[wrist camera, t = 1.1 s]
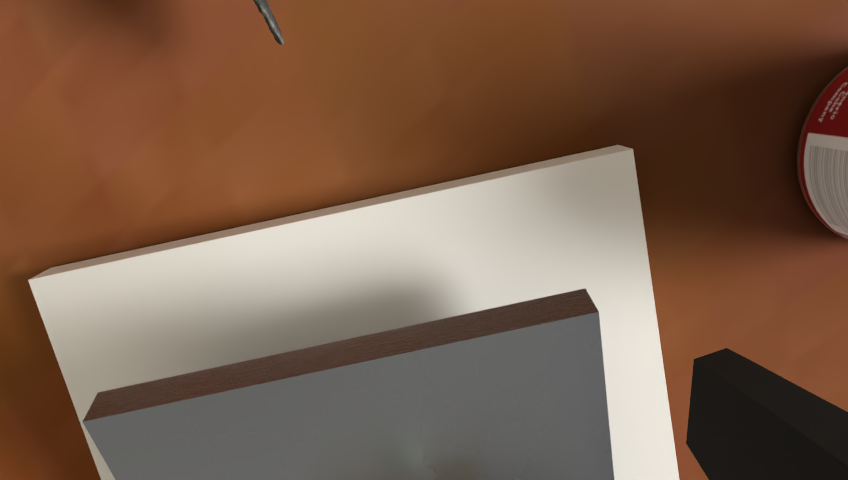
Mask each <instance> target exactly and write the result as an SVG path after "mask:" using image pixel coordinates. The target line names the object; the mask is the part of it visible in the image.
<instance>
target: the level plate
mask: <svg viewBox="0 0 848 480" xmlns="http://www.w3.org/2000/svg"><path fill="white" fill-rule="evenodd" d="M82 422H83V424H84V426H85V427H86V429H87V431H88V433H89V434H90V436H91V438H92V440H93V441H94V443H95V445H96V447H97V448H98V450H99V452H100V454H101V455H102V457H103V459H104V461H105V462H106V464H107V466H108V468H109V469H110V471H111V473H112V475H113V476H114V478H115V480H614V471H613V460H612V449H611V438H610V427H609V416H608V405H607V395H606V384H605V373H604V362H603V351H602V340H601V329H600V319H599V311H598V309H597V308H596V306H595V304H594V302H593V301H592V299H591V297H590V295H589V294H588V292H587V290H586V289H580V290H575V291H571V292H566V293H561V294H557V295H552V296H547V297H542V298H538V299H533V300H528V301H524V302H519V303H514V304H510V305H505V306H500V307H496V308H491V309H486V310H482V311H477V312H472V313H468V314H463V315H458V316H453V317H449V318H444V319H439V320H435V321H430V322H425V323H421V324H416V325H411V326H407V327H402V328H397V329H393V330H388V331H383V332H379V333H374V334H369V335H364V336H360V337H355V338H350V339H346V340H341V341H336V342H332V343H327V344H322V345H318V346H313V347H308V348H304V349H299V350H294V351H290V352H285V353H280V354H276V355H271V356H266V357H261V358H257V359H252V360H247V361H243V362H238V363H233V364H229V365H224V366H219V367H215V368H210V369H205V370H201V371H196V372H191V373H187V374H182V375H177V376H172V377H168V378H163V379H158V380H154V381H149V382H144V383H140V384H135V385H130V386H126V387H121V388H116V389H112V390H107V391H102V392H98V393H97V395H96V397H95V399H94V401H93V403H92V405H91V406H90V408H89V410H88V412H87V414H86V416H85V418H84V420H83V421H82Z"/></svg>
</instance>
